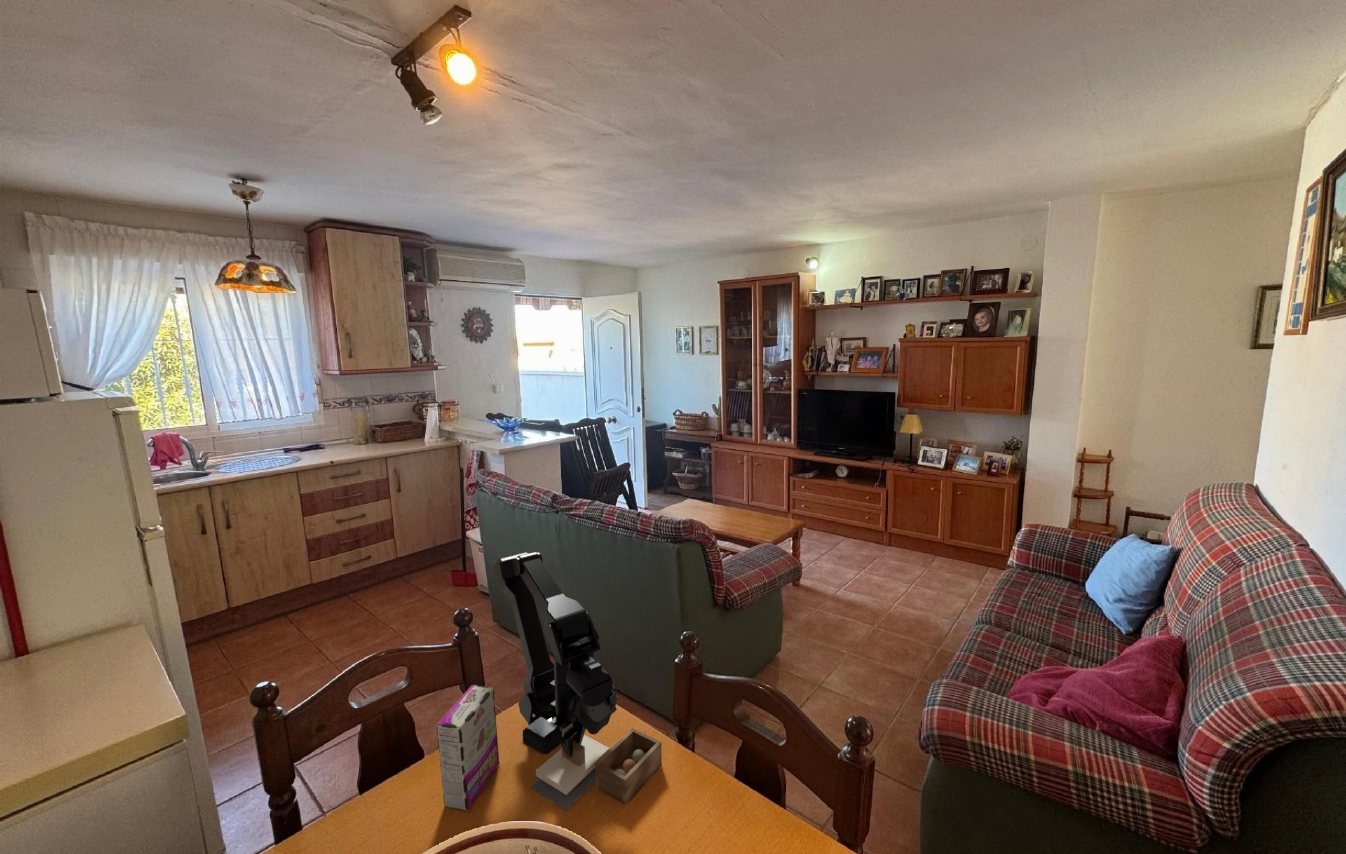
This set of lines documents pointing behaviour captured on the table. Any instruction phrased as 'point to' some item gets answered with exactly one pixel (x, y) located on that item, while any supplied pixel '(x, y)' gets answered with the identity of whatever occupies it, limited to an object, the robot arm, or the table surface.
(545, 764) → the lid
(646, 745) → the box
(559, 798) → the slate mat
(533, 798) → the table surface
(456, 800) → the candy bar box
